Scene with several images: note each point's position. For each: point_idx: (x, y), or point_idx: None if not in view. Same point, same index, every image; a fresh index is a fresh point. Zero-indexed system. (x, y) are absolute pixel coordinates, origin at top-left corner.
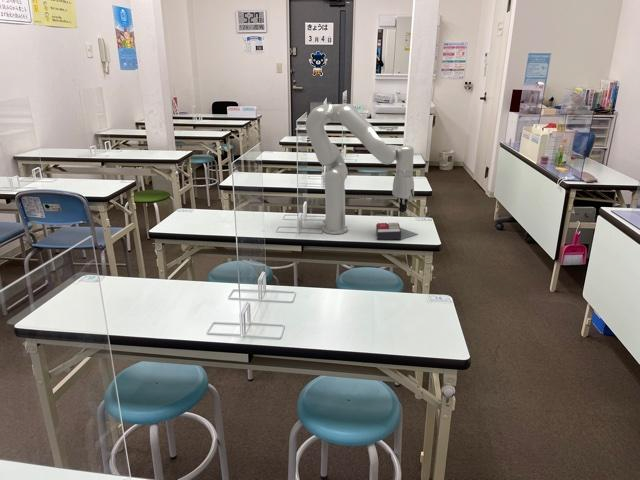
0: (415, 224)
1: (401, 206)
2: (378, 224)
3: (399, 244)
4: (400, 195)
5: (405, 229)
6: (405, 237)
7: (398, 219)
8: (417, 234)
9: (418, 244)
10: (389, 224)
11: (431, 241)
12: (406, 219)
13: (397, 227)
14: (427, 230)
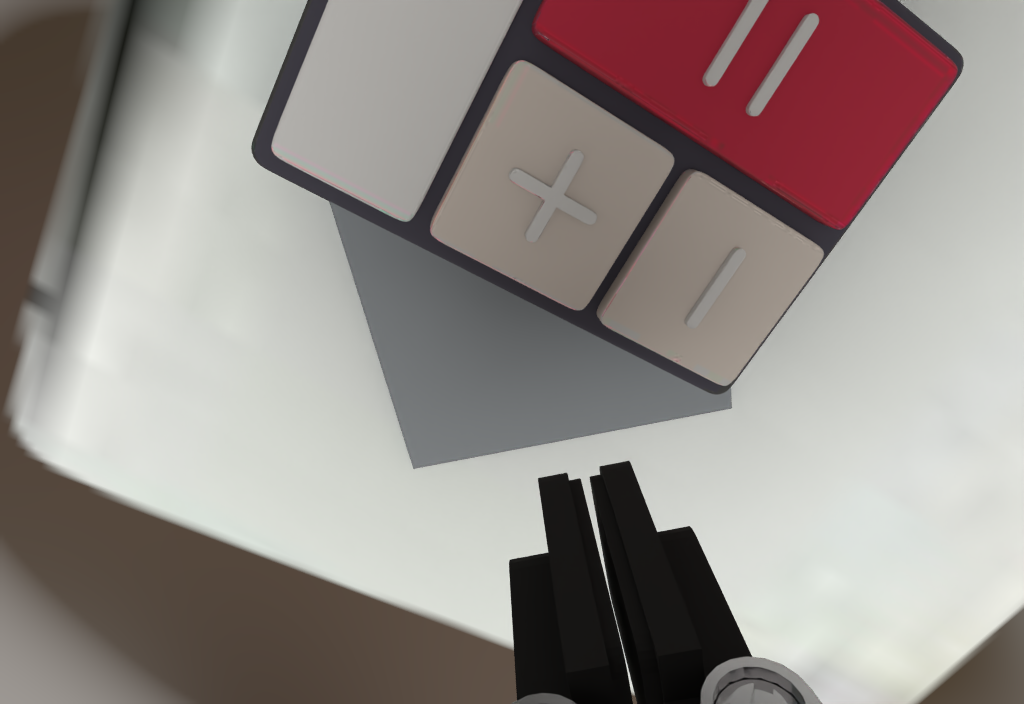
0: (728, 603)
1: (570, 595)
2: (880, 30)
3: (129, 18)
4: None
5: (631, 426)
6: (349, 260)
7: (989, 542)
8: (412, 458)
9: (65, 281)
10: (728, 212)
11: (137, 472)
12: (922, 607)
13: (472, 226)
14: (495, 609)
